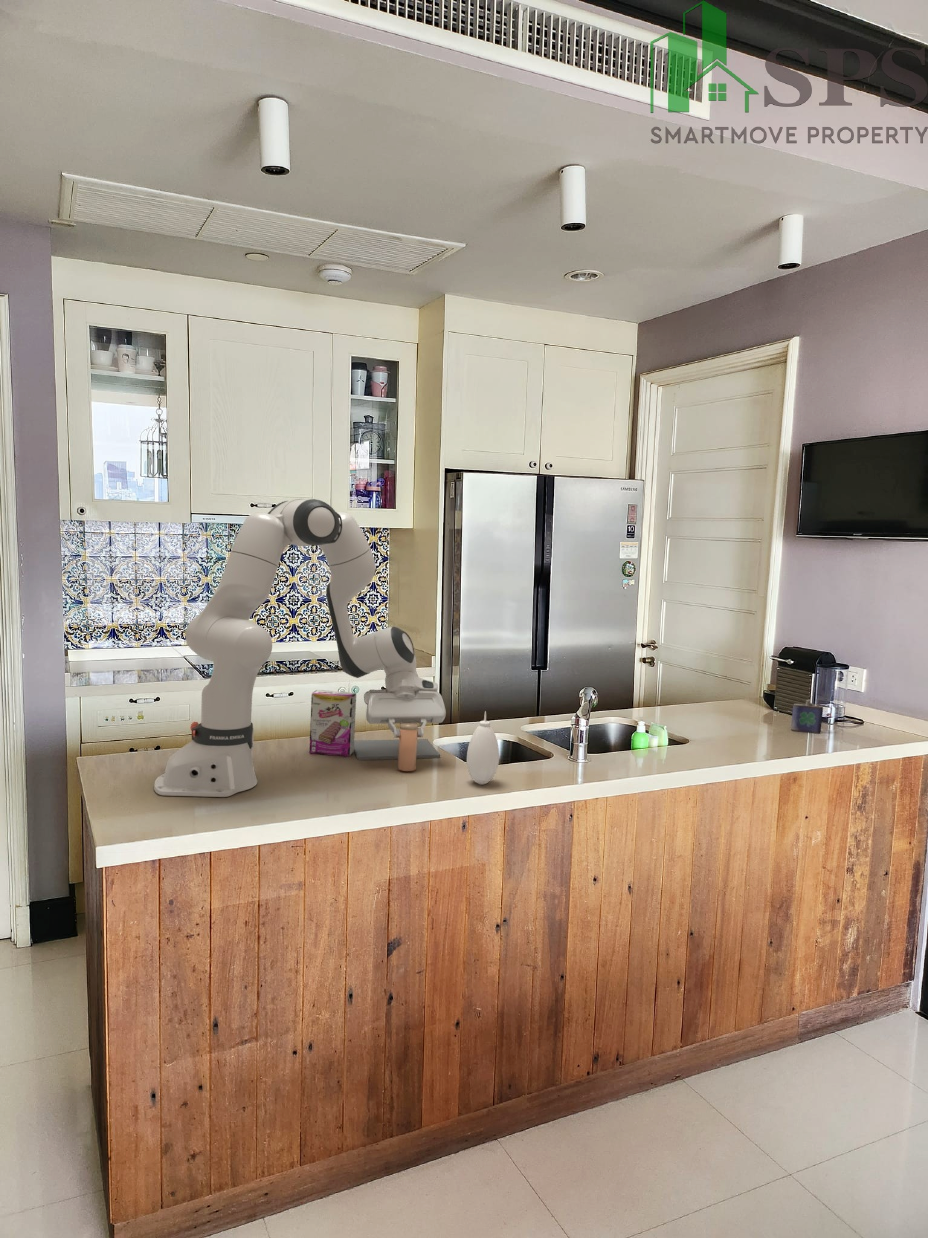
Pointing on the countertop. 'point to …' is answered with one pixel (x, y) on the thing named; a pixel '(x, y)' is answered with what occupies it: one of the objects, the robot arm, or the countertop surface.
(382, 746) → the mat
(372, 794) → the countertop surface
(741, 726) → the countertop surface
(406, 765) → the spice jar
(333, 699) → the candy bar box
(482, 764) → the white air blower bulb
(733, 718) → the countertop surface
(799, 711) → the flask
